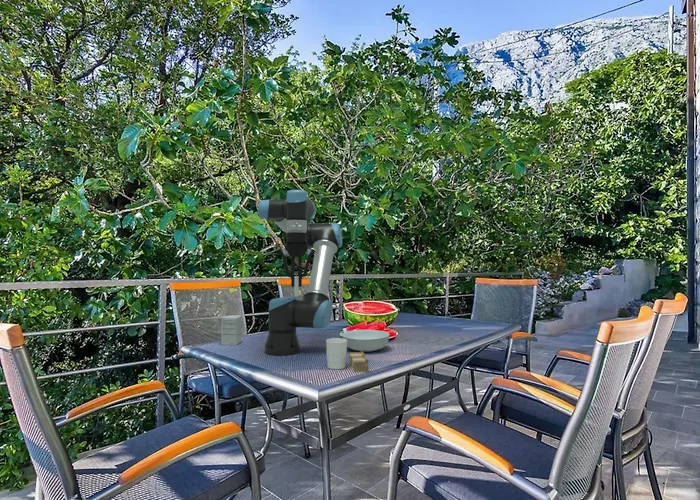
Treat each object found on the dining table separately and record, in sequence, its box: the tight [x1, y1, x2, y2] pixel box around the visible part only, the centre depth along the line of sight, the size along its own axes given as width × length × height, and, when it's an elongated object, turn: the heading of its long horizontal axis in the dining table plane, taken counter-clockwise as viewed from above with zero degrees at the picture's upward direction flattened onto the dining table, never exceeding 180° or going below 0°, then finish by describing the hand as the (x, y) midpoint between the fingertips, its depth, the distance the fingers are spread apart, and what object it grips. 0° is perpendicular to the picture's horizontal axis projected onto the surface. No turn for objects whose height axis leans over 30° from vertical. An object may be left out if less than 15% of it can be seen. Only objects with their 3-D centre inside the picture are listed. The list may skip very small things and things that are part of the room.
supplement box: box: [220, 315, 243, 346], centre depth 199 cm, size 7×7×13 cm
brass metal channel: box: [348, 351, 369, 373], centre depth 160 cm, size 15×5×4 cm, turn 7°
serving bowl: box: [341, 329, 390, 353], centre depth 188 cm, size 21×21×7 cm
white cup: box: [325, 337, 348, 370], centre depth 159 cm, size 8×8×10 cm
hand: (296, 295), depth 159 cm, fingers closed
